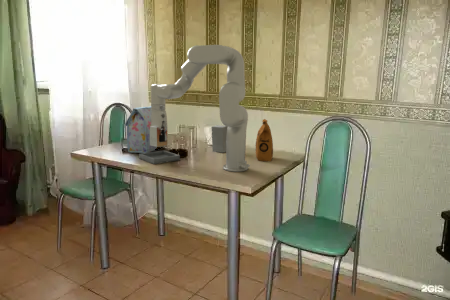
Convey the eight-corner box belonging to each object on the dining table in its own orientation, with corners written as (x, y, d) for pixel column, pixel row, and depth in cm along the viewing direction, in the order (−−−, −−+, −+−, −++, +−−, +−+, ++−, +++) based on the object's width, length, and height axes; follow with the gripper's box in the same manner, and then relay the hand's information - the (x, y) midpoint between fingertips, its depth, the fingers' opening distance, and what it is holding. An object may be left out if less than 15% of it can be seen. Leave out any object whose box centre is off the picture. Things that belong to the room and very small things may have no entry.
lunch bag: (143, 145, 232) (142, 104, 226) (167, 147, 226) (166, 105, 221) (123, 152, 211) (121, 107, 205) (148, 154, 205) (147, 108, 200)
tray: (179, 159, 195) (179, 155, 194) (153, 164, 184) (153, 159, 184) (164, 154, 206) (164, 150, 206) (139, 158, 196) (138, 153, 196)
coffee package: (254, 161, 195) (255, 121, 191) (255, 156, 207) (257, 118, 203) (272, 162, 194) (274, 121, 189) (272, 157, 206) (274, 119, 201)
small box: (156, 147, 189) (156, 127, 187) (149, 145, 192) (149, 126, 190) (167, 145, 195) (167, 126, 193) (160, 143, 199) (160, 124, 196)
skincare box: (228, 151, 219) (229, 125, 216) (222, 153, 213) (223, 127, 210) (217, 149, 223) (217, 124, 220) (210, 151, 217) (211, 125, 214)
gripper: (173, 108, 186) (173, 142, 189) (156, 106, 198) (156, 137, 202) (160, 109, 181) (161, 144, 185) (144, 106, 194) (144, 139, 197)
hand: (158, 140), depth 193 cm, fingers closed on small box, 6 cm apart
